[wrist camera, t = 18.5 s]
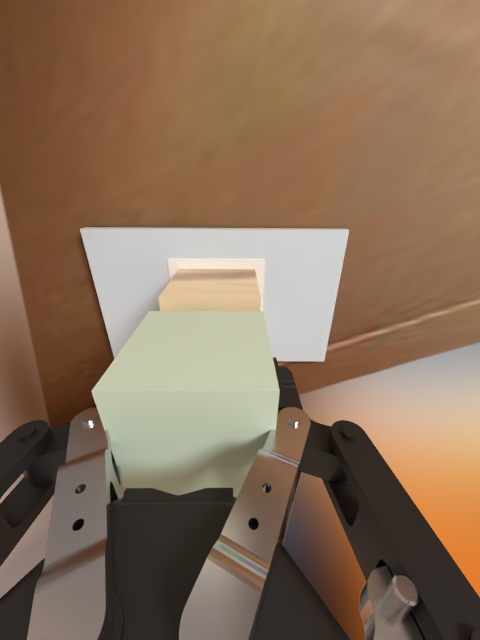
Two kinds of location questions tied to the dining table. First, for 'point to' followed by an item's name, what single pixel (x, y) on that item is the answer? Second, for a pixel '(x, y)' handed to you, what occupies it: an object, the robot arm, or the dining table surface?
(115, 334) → the white rectangular board
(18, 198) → the dining table surface
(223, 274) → the maple block
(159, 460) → the sage block
